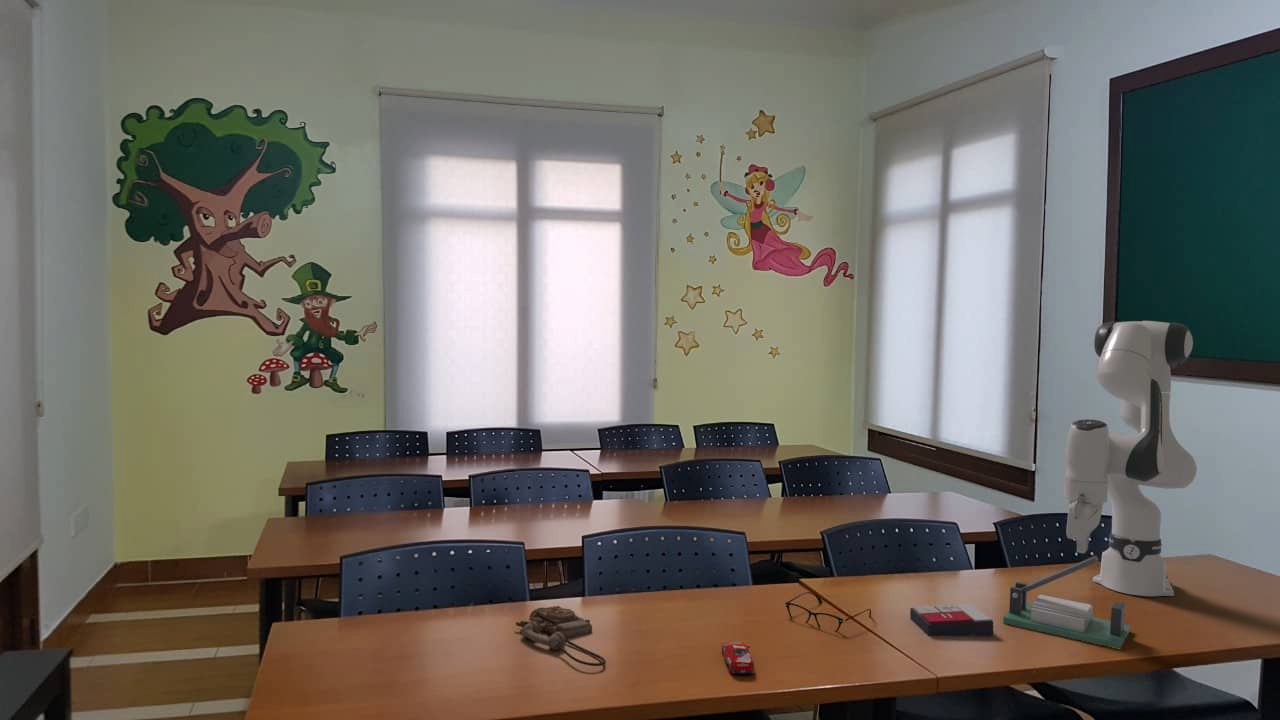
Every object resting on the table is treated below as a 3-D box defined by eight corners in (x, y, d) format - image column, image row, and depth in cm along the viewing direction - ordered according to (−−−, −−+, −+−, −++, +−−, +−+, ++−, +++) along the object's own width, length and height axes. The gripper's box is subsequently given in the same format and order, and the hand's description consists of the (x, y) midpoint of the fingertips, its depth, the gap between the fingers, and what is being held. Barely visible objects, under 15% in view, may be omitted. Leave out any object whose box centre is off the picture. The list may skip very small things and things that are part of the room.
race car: (720, 651, 178) (720, 632, 177) (745, 651, 178) (746, 632, 178) (728, 677, 164) (728, 657, 164) (755, 678, 165) (756, 658, 164)
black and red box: (909, 604, 199) (971, 601, 200) (909, 622, 199) (971, 619, 200) (928, 621, 188) (994, 617, 189) (928, 640, 188) (994, 636, 189)
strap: (1019, 593, 203) (1017, 589, 203) (1099, 559, 192) (1096, 555, 193) (1016, 596, 200) (1014, 592, 201) (1096, 562, 190) (1094, 558, 190)
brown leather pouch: (579, 677, 163) (580, 654, 163) (497, 625, 189) (498, 606, 189) (641, 662, 172) (642, 641, 172) (555, 615, 198) (556, 596, 198)
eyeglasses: (780, 617, 198) (781, 600, 198) (816, 602, 210) (816, 586, 210) (843, 637, 187) (844, 619, 187) (877, 619, 199) (878, 602, 199)
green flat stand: (1018, 607, 208) (1019, 577, 208) (1129, 631, 194) (1131, 599, 193) (1003, 623, 197) (1004, 591, 197) (1120, 650, 183) (1122, 615, 182)
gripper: (1092, 501, 182) (1089, 564, 183) (1108, 487, 198) (1105, 545, 199) (1060, 496, 186) (1057, 558, 187) (1078, 483, 202) (1075, 540, 203)
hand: (1082, 551), depth 193 cm, fingers closed
